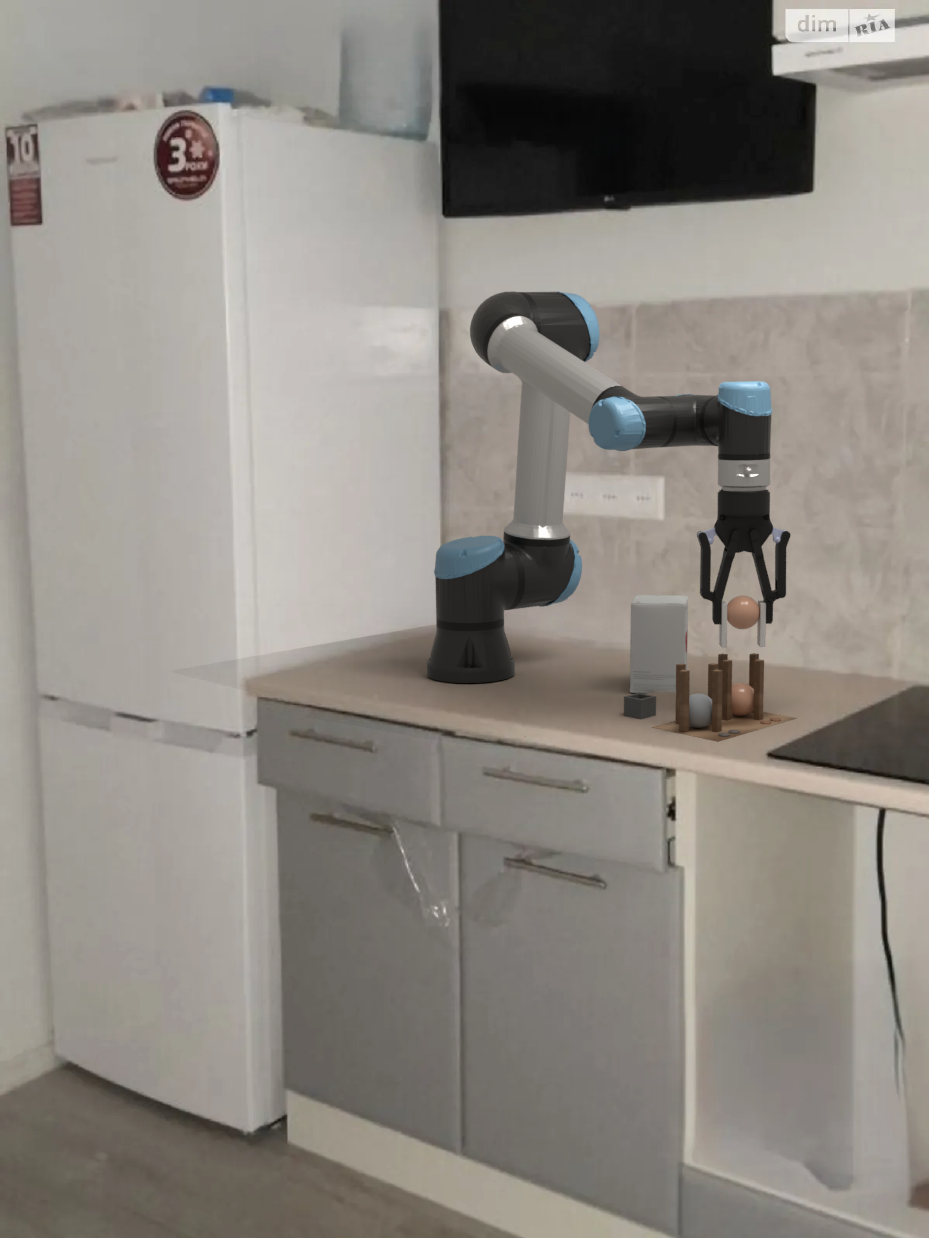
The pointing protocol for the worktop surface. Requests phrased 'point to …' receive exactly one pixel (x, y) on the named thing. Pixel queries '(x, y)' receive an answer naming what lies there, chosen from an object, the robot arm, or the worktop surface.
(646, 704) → the stand
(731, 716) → the rack
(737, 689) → the ball
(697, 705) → the ball
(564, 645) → the worktop surface
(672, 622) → the supplement box
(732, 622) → the ball loose
